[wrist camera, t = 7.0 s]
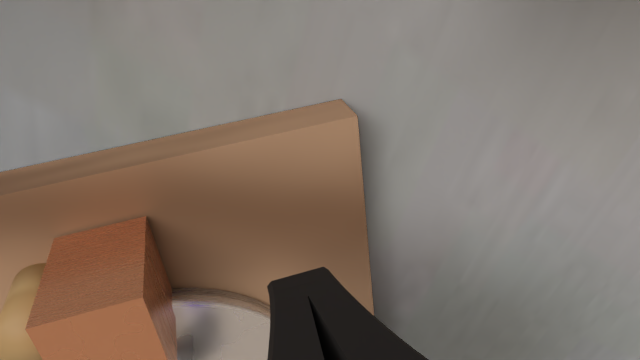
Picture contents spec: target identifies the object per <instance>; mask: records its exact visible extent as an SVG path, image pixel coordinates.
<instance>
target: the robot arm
mask: <svg viewBox="0 0 640 360" xmlns="http://www.w3.org/2000/svg"><path fill="white" fill-rule="evenodd" d="M267 289H268V293H269V300H270V336H269V348H268V359H267V360H428V359H427V358H425V357H424V356H423V355H421V354H420V353H419V352H417V351H416V350H415V349H413V348H412V347H411V346H409V345H408V344H407V343H406V342H404V341H403V340H402V339H400V338H399V337H398V336H397V335H396V334H394V333H393V332H392V331H391V330H389V329H388V328H387V327H386V326H385V325H384V324H383V323H381V322H380V321H379V320H378V319H377V318H376V317H375V316H374V315H372V314H371V313H370V312H369V311H368V310H367V309H366V308H365V307H364V306H363V305H361V304H360V303H359V302H358V301H357V300H356V299H355V298H354V297H353V296H352V295H351V294H350V293H349V292H348V291H347V290H346V289H345V288H344V287H343V285H342V284H341V283H340V282H339V281H338V280H337V279H336V278H335V277H334V275H333V274H332V273H331V272H330V271H329V269H327V268H325V267H320V268H317V269H313V270H309V271H306V272H302V273H299V274H295V275H291V276H288V277H284V278H281V279H277V280H273V281H271V282H270V283H269V285H268V286H267Z"/></svg>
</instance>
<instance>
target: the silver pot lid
mask: <svg viewBox="0 0 640 360" xmlns="http://www.w3.org/2000/svg"><path fill="white" fill-rule="evenodd" d="M25 330H26V332H27V333H28V335H29V337H30V339H31V340H32V342H33V344H34V346H35V347H36V349H37V351H38V352H39V354H40V356H41V358H42V359H43V360H267V359H268V348H269V336H270V306H269V305H267V304H265V303H263V302H261V301H259V300H256V299H254V298H251V297H248V296H245V295H241V294H238V293H234V292H229V291H224V290H219V289H207V288H171V285H170V282H169V279H168V277H167V274H166V271H165V268H164V265H163V262H162V260H161V257H160V254H159V251H158V248H157V245H156V243H155V240H154V237H153V234H152V231H151V228H150V226H149V223H148V220H147V217H146V216H144V217H140V218H136V219H132V220H127V221H123V222H119V223H115V224H111V225H107V226H103V227H99V228H95V229H90V230H86V231H82V232H78V233H74V234H70V235H66V236H62V237H58V238H54V240H53V243H52V246H51V249H50V253H49V256H48V259H47V262H46V265H45V268H44V271H43V275H42V278H41V281H40V284H39V287H38V290H37V293H36V297H35V300H34V303H33V306H32V309H31V312H30V315H29V319H28V322H27V325H26V328H25Z"/></svg>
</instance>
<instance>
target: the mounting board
mask: <svg viewBox="0 0 640 360" xmlns="http://www.w3.org/2000/svg"><path fill="white" fill-rule="evenodd" d="M144 216H146V217H147V220H148V223H149V226H150V228H151V231H152V234H153V237H154V240H155V243H156V245H157V248H158V251H159V254H160V257H161V260H162V262H163V265H164V268H165V271H166V274H167V277H168V279H169V282H170V285H171V288H207V289H219V290H224V291H229V292H234V293H238V294H241V295H245V296H248V297H251V298H254V299H256V300H259V301H261V302H263V303H265V304H267V305H269V306H270V300H269V293H268V289H267V286H268V285H269V283H270V282H271V281H273V280H277V279H281V278H284V277H288V276H291V275H295V274H299V273H302V272H306V271H309V270H313V269H317V268H320V267H325V268H327V269H329V271H330V272H331V273H332V274H333V275H334V277H335V278H336V279H337V280H338V281H339V282H340V283H341V284H342V285H343V287H344V288H345V289H346V290H347V291H348V292H349V293H350V294H351V295H352V296H353V297H354V298H355V299H356V300H357V301H358V302H359V303H360V304H361V305H363V306H364V307H365V308H366V309H367V310H368V311H369V312H370V313H371V314H372V315H374V309H373V297H372V285H371V273H370V261H369V249H368V237H367V225H366V213H365V201H364V189H363V177H362V165H361V153H360V141H359V128H358V116H357V115H356V114H355V113H354V112H353V111H352V110H351V109H350V108H349V107H348V106H347V105H346V104H345V102H344V101H343V100H342V99H339V100H334V101H329V102H325V103H320V104H316V105H311V106H306V107H302V108H297V109H292V110H288V111H283V112H278V113H274V114H269V115H264V116H260V117H255V118H250V119H246V120H241V121H237V122H232V123H227V124H223V125H218V126H213V127H209V128H204V129H199V130H195V131H190V132H185V133H181V134H176V135H172V136H167V137H162V138H158V139H153V140H148V141H144V142H139V143H134V144H130V145H125V146H120V147H116V148H111V149H106V150H102V151H97V152H93V153H88V154H83V155H79V156H74V157H69V158H65V159H60V160H55V161H51V162H46V163H41V164H37V165H32V166H27V167H23V168H18V169H14V170H9V171H4V172H0V360H43V359H42V358H41V356H40V354H39V352H38V351H37V349H36V347H35V346H34V344H33V342H32V340H31V339H30V337H29V335H28V333H27V332H26V330H25V328H26V325H27V322H28V319H29V315H30V312H31V309H32V306H33V303H34V300H35V297H36V293H37V290H38V287H39V284H40V281H41V278H42V275H43V271H44V268H45V265H46V262H47V259H48V256H49V253H50V249H51V246H52V243H53V240H54V238H58V237H62V236H66V235H70V234H74V233H78V232H82V231H86V230H90V229H95V228H99V227H103V226H107V225H111V224H115V223H119V222H123V221H127V220H132V219H136V218H140V217H144Z"/></svg>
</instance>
